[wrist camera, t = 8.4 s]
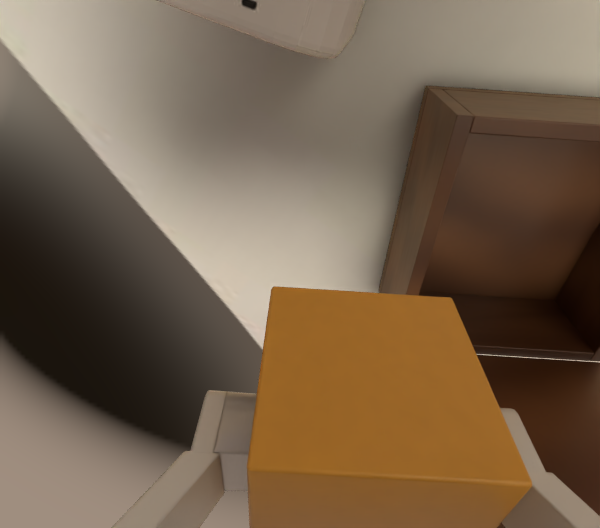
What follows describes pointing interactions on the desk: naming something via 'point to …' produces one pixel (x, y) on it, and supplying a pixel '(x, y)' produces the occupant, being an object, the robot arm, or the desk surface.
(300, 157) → the desk surface
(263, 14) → the handheld gaming console
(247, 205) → the desk surface
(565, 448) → the lid
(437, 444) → the block
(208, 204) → the desk surface
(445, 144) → the chest
